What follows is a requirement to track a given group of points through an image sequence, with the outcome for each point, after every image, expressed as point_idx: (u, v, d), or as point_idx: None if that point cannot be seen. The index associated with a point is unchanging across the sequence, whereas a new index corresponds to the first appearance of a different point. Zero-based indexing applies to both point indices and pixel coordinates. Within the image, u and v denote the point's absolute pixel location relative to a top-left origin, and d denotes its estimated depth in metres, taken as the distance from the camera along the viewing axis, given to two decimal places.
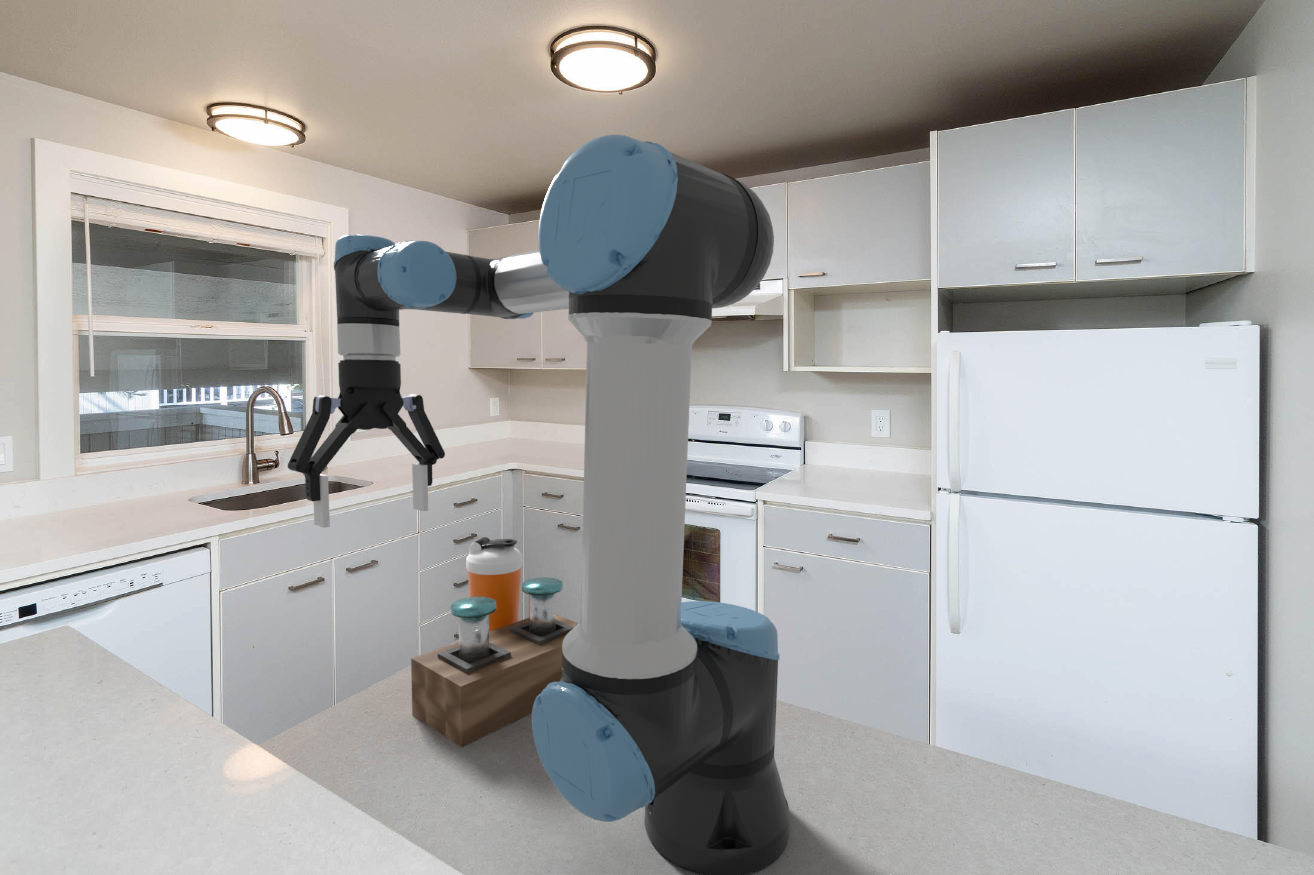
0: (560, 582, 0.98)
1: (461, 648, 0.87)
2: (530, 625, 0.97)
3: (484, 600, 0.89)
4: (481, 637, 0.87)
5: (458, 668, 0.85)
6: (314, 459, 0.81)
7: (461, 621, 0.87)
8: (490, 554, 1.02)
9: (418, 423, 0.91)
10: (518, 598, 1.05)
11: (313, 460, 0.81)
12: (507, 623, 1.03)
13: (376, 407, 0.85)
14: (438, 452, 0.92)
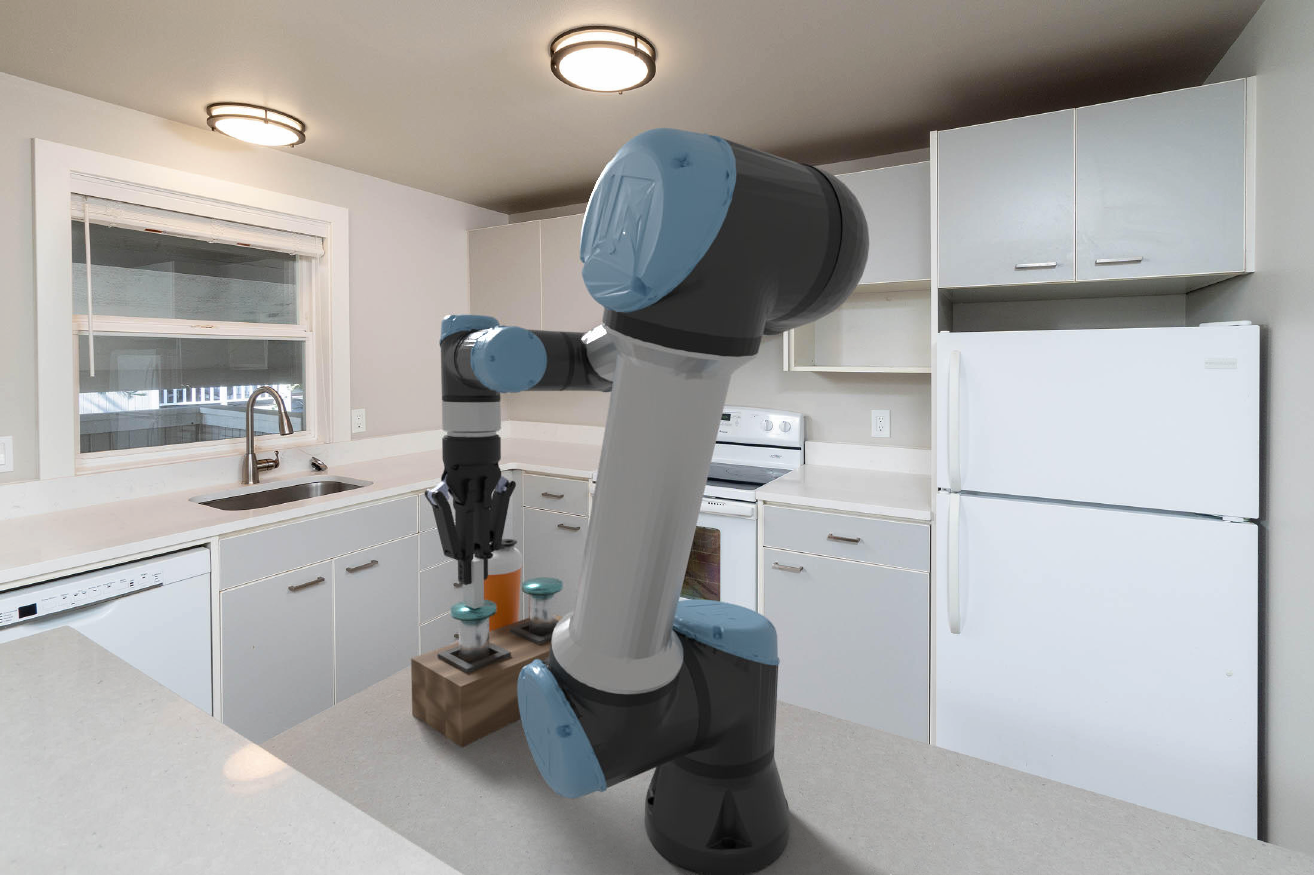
0: (560, 582, 0.98)
1: (461, 651, 0.87)
2: (530, 625, 0.97)
3: (484, 603, 0.89)
4: (481, 640, 0.87)
5: (458, 668, 0.85)
6: (461, 547, 0.86)
7: (461, 624, 0.87)
8: None
9: (496, 506, 0.90)
10: (518, 598, 1.05)
11: None
12: (507, 623, 1.03)
13: (479, 476, 0.86)
14: (496, 542, 0.89)
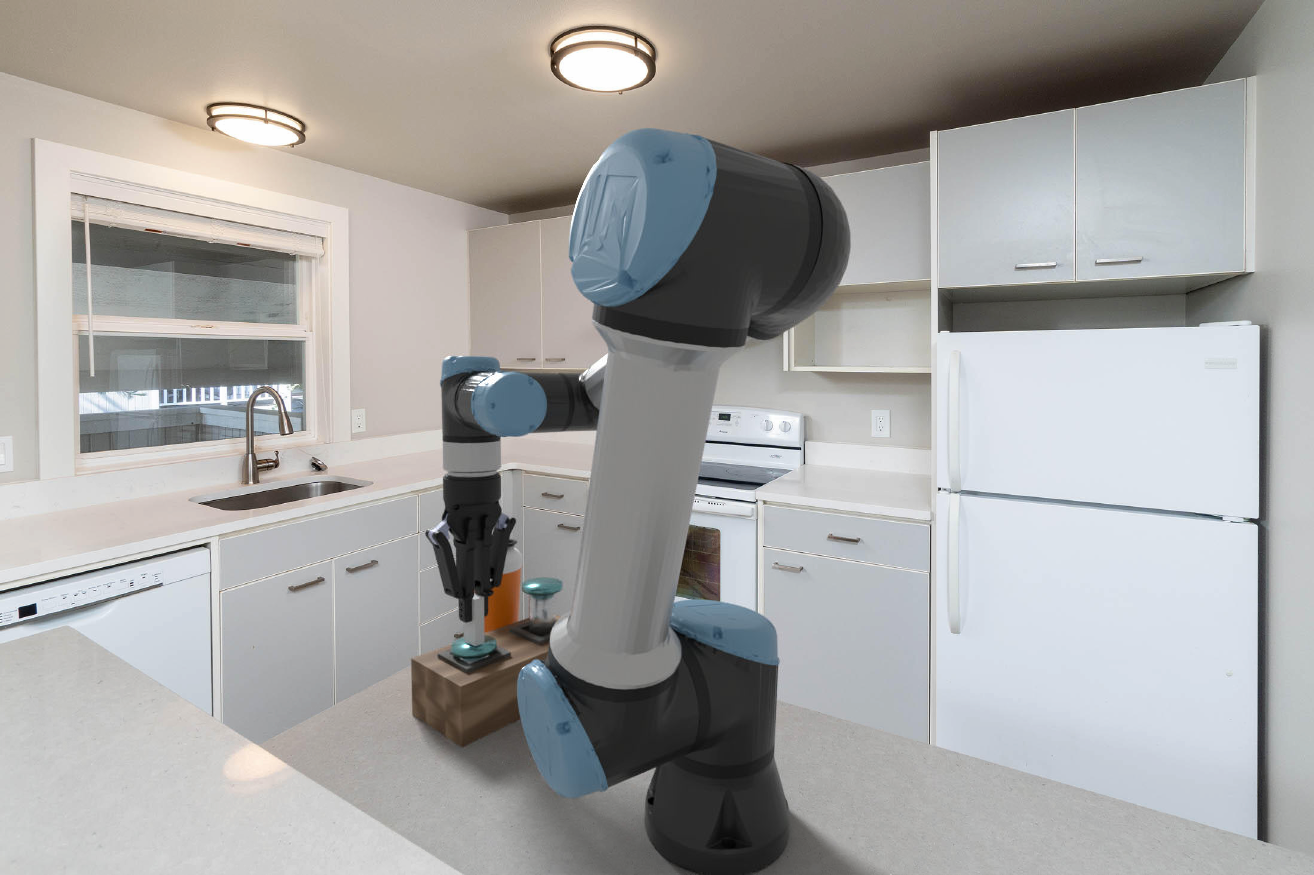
0: (560, 582, 0.98)
1: None
2: (530, 625, 0.97)
3: (484, 639, 0.90)
4: None
5: (458, 668, 0.85)
6: (461, 585, 0.86)
7: None
8: None
9: (496, 542, 0.90)
10: (518, 598, 1.05)
11: (460, 586, 0.87)
12: (507, 623, 1.03)
13: (480, 514, 0.87)
14: (496, 579, 0.89)
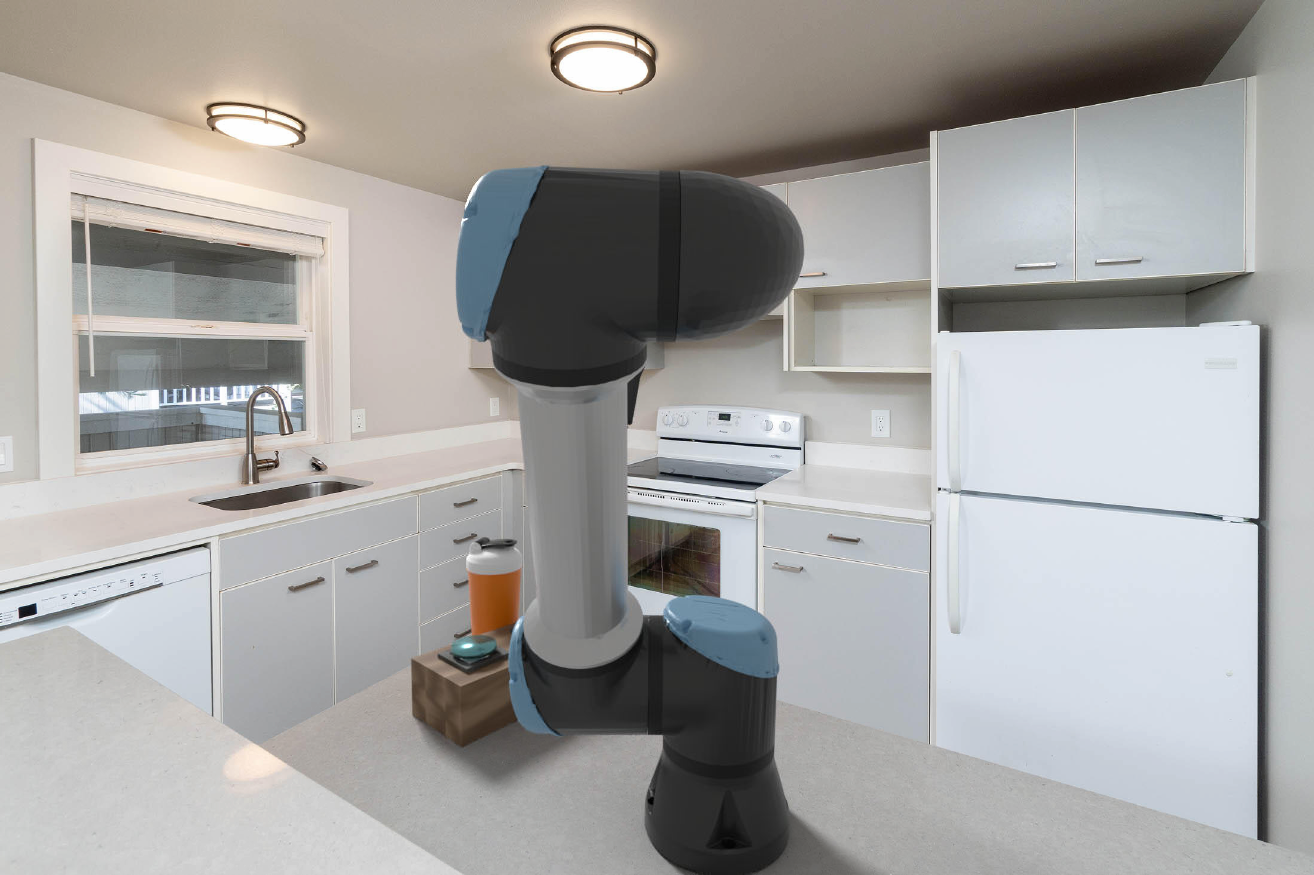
0: None
1: None
2: None
3: (484, 639, 0.90)
4: None
5: (458, 668, 0.85)
6: None
7: None
8: (490, 554, 1.02)
9: (628, 384, 0.97)
10: (518, 598, 1.05)
11: None
12: (507, 623, 1.03)
13: None
14: (629, 417, 0.96)
